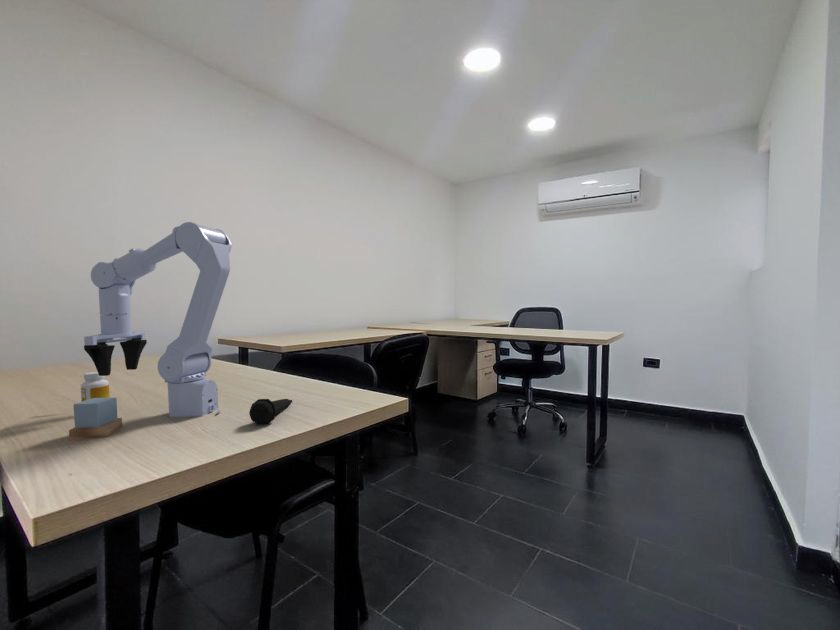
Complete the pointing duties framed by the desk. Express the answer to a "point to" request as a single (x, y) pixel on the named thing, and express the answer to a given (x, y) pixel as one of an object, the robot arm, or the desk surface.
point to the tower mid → (95, 431)
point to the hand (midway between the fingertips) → (118, 372)
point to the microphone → (267, 410)
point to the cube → (95, 412)
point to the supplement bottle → (94, 387)
